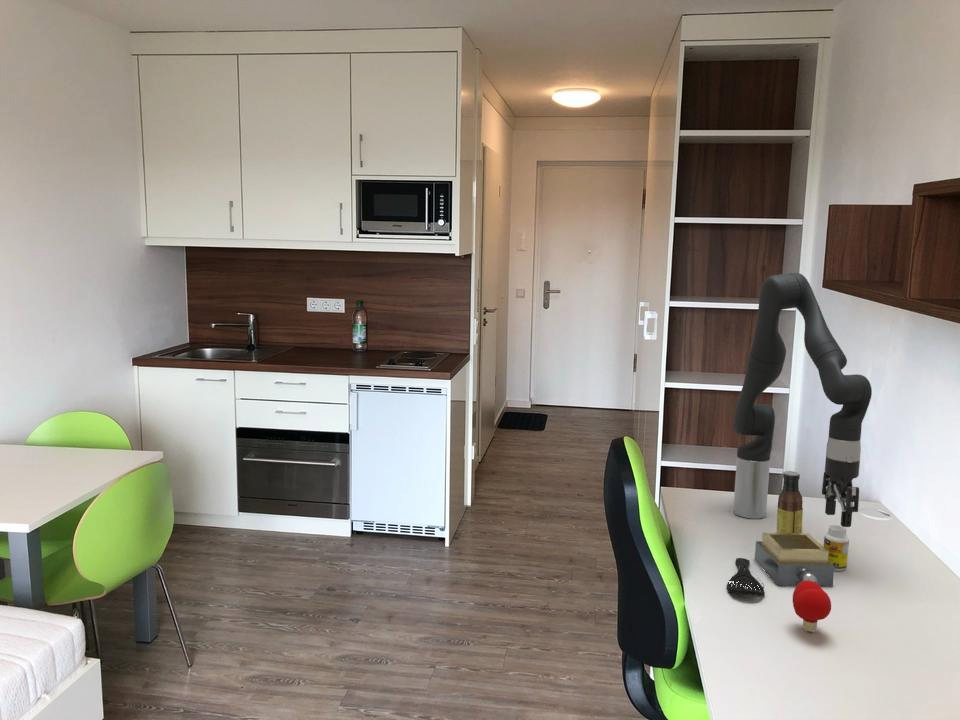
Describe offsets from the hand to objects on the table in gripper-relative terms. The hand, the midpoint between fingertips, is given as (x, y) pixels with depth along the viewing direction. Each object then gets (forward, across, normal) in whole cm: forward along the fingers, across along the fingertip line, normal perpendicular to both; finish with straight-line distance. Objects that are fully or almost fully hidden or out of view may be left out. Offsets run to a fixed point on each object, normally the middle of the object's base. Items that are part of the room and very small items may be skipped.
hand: (837, 520), depth 187 cm
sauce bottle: (+12, -14, -6) cm, 20 cm away
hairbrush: (+13, +8, -25) cm, 29 cm away
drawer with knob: (+12, +5, -12) cm, 18 cm away
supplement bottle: (+12, 0, 0) cm, 12 cm away
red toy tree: (+13, +33, -20) cm, 40 cm away
